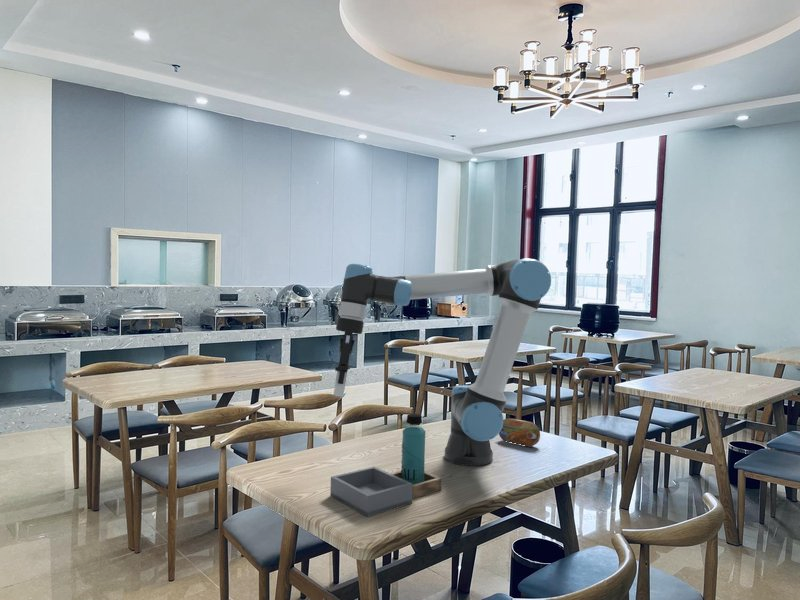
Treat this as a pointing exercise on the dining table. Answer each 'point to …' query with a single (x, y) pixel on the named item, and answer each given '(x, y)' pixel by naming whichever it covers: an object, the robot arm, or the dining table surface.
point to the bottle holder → (424, 484)
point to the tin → (520, 432)
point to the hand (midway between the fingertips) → (338, 393)
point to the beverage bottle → (413, 450)
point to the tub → (371, 490)
